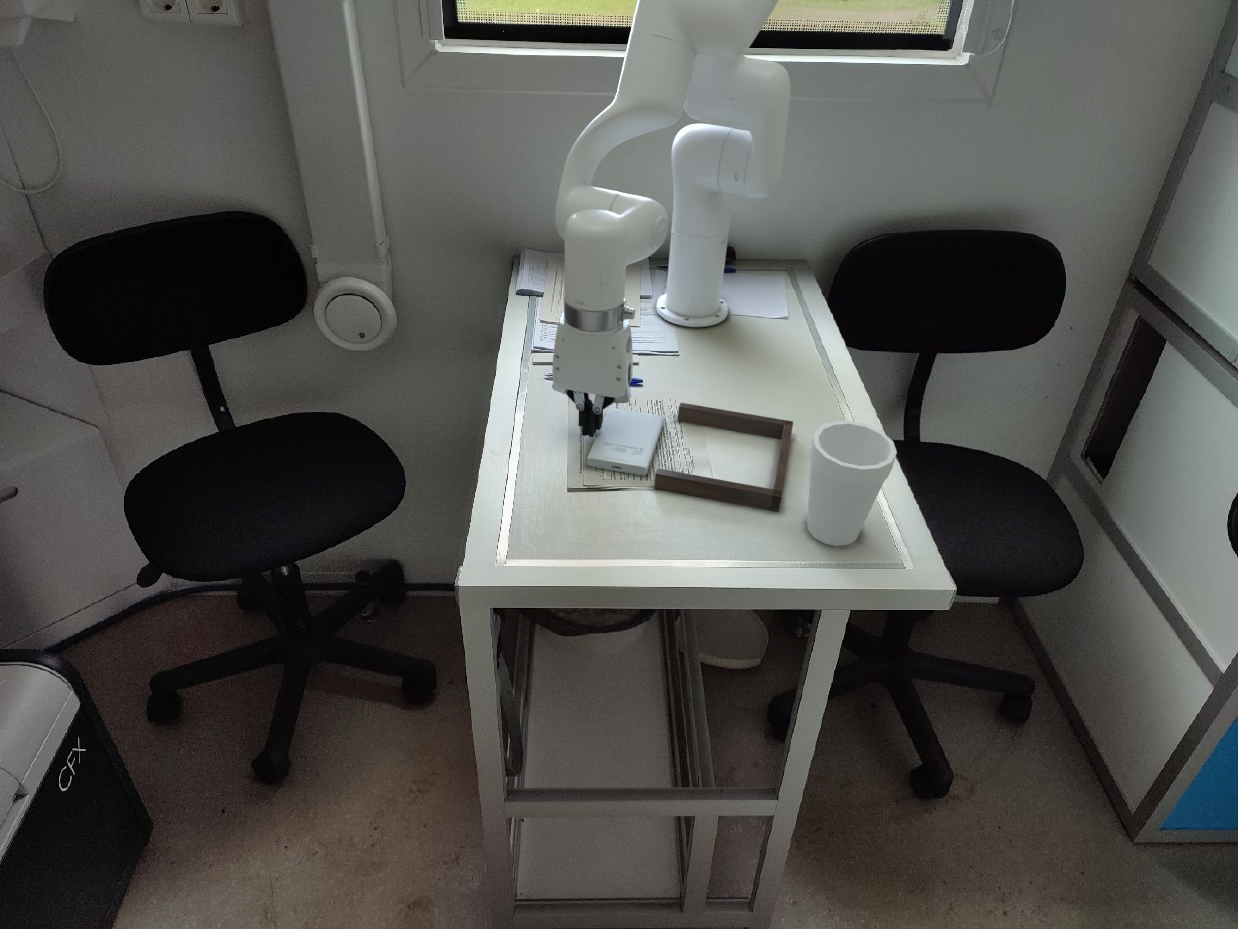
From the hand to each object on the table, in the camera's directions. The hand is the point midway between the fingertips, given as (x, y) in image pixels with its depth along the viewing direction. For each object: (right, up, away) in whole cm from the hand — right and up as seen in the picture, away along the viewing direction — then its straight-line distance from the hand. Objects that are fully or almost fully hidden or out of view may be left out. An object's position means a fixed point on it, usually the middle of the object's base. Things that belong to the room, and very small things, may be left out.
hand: (590, 431), depth 119 cm
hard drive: (+5, -2, 0) cm, 5 cm away
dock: (+18, -4, -2) cm, 18 cm away
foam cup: (+31, -13, -12) cm, 35 cm away
